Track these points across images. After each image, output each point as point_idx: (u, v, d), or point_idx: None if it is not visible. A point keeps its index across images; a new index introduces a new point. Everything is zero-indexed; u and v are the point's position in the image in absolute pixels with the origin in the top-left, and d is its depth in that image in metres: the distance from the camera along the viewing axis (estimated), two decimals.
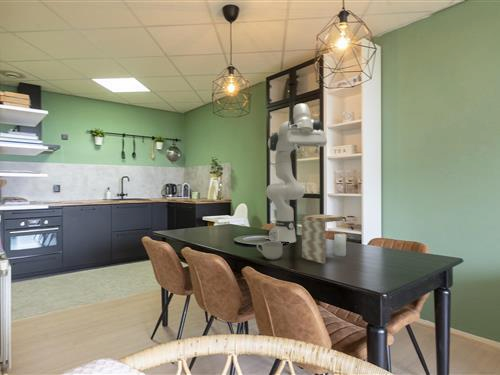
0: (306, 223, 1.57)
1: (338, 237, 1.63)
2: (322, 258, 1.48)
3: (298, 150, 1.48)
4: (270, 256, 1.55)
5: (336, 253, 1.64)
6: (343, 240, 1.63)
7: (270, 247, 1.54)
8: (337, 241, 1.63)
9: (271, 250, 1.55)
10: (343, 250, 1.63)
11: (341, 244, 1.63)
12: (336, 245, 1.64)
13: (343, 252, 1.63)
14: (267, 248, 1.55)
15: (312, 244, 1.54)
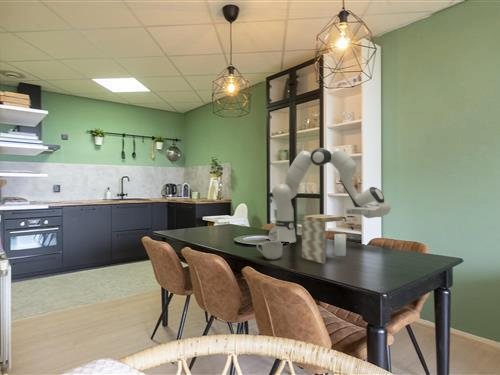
0: (306, 223, 1.57)
1: (338, 237, 1.63)
2: (322, 258, 1.48)
3: None
4: (270, 256, 1.55)
5: (336, 253, 1.64)
6: (343, 240, 1.63)
7: (270, 247, 1.55)
8: (337, 241, 1.63)
9: (271, 250, 1.55)
10: (343, 250, 1.63)
11: (341, 244, 1.63)
12: (336, 245, 1.64)
13: (343, 252, 1.63)
14: (267, 248, 1.55)
15: (312, 244, 1.54)
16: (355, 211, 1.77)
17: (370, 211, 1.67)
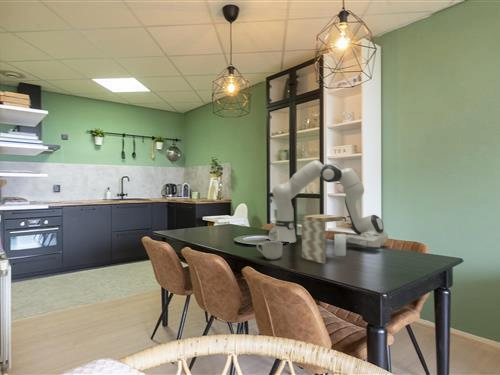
0: (306, 223, 1.57)
1: (338, 237, 1.63)
2: (322, 258, 1.48)
3: (360, 244, 1.68)
4: (270, 256, 1.55)
5: (336, 253, 1.64)
6: (343, 240, 1.63)
7: (270, 247, 1.54)
8: (337, 241, 1.63)
9: (271, 250, 1.55)
10: (343, 250, 1.63)
11: (341, 244, 1.63)
12: (336, 245, 1.64)
13: (343, 252, 1.63)
14: (267, 248, 1.55)
15: (312, 244, 1.54)
16: (353, 240, 1.77)
17: (369, 242, 1.68)
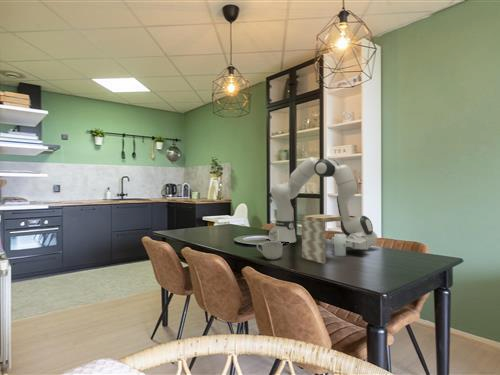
0: (306, 223, 1.57)
1: (338, 237, 1.63)
2: (322, 258, 1.48)
3: (345, 246, 1.62)
4: (270, 256, 1.55)
5: (336, 253, 1.64)
6: (343, 240, 1.63)
7: (270, 247, 1.54)
8: (337, 241, 1.63)
9: (271, 250, 1.55)
10: (343, 250, 1.63)
11: (341, 244, 1.63)
12: (336, 245, 1.64)
13: (343, 252, 1.63)
14: (267, 248, 1.55)
15: (312, 244, 1.54)
16: None
17: (356, 244, 1.61)
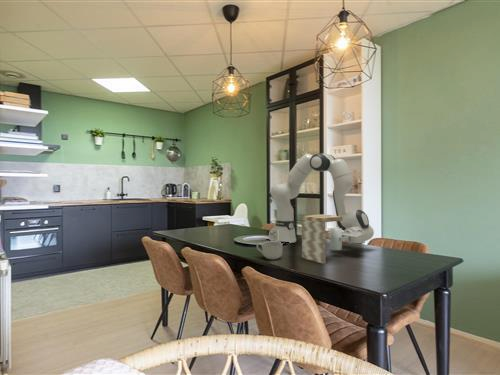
0: (306, 223, 1.57)
1: (334, 231, 1.61)
2: (322, 258, 1.48)
3: (341, 240, 1.60)
4: (270, 256, 1.55)
5: (332, 247, 1.62)
6: (339, 234, 1.61)
7: (270, 247, 1.55)
8: (333, 235, 1.61)
9: (271, 250, 1.55)
10: (339, 244, 1.61)
11: (337, 238, 1.61)
12: (332, 239, 1.62)
13: (339, 246, 1.61)
14: (267, 248, 1.55)
15: (312, 244, 1.54)
16: None
17: (352, 238, 1.59)
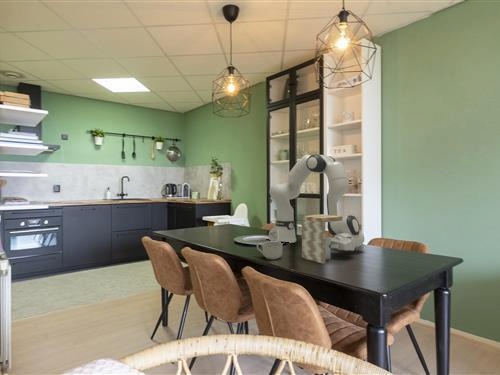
0: (306, 223, 1.57)
1: None
2: (322, 258, 1.48)
3: (331, 247, 1.55)
4: (270, 256, 1.55)
5: None
6: (327, 243, 1.56)
7: (270, 247, 1.55)
8: None
9: (271, 250, 1.55)
10: (327, 253, 1.56)
11: (325, 247, 1.56)
12: None
13: (327, 255, 1.56)
14: (267, 248, 1.55)
15: (312, 244, 1.54)
16: None
17: (341, 245, 1.55)
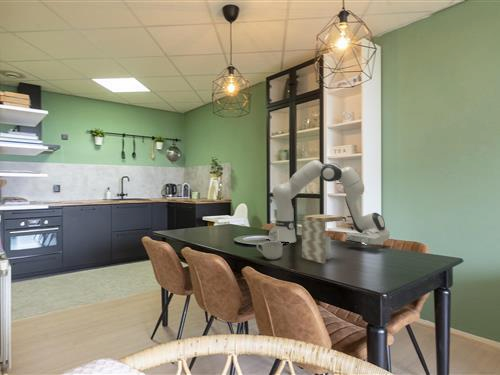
0: (306, 223, 1.57)
1: None
2: (322, 258, 1.48)
3: None
4: (270, 256, 1.55)
5: None
6: (327, 243, 1.56)
7: (270, 247, 1.55)
8: None
9: (271, 250, 1.55)
10: (327, 253, 1.56)
11: (325, 247, 1.56)
12: None
13: (328, 255, 1.56)
14: (267, 248, 1.55)
15: (312, 244, 1.54)
16: (355, 237, 1.77)
17: (370, 239, 1.68)
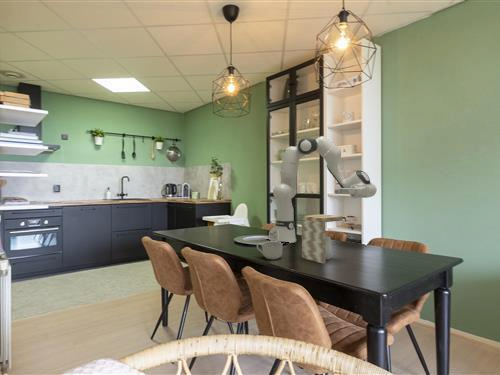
0: (306, 223, 1.57)
1: None
2: (322, 258, 1.48)
3: (348, 193, 1.76)
4: (270, 256, 1.55)
5: None
6: (327, 243, 1.56)
7: (270, 247, 1.55)
8: None
9: (271, 250, 1.55)
10: (327, 253, 1.56)
11: (325, 247, 1.56)
12: None
13: (328, 255, 1.56)
14: (267, 248, 1.55)
15: (312, 244, 1.54)
16: (343, 191, 1.85)
17: (357, 190, 1.76)
